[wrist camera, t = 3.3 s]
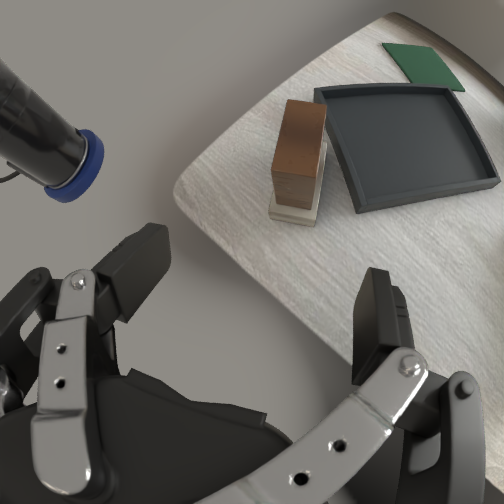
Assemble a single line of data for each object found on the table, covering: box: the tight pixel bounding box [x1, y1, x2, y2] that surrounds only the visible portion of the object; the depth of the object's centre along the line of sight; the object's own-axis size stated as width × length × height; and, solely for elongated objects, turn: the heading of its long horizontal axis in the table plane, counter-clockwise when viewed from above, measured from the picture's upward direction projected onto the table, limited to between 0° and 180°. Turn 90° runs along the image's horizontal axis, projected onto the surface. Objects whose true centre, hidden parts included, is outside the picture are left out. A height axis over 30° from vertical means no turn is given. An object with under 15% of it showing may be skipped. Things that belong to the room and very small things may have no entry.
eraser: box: [268, 99, 327, 227], centre depth 21 cm, size 8×4×8 cm, turn 167°
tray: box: [313, 83, 501, 214], centre depth 24 cm, size 19×14×2 cm
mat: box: [382, 43, 465, 92], centre depth 26 cm, size 10×10×1 cm
